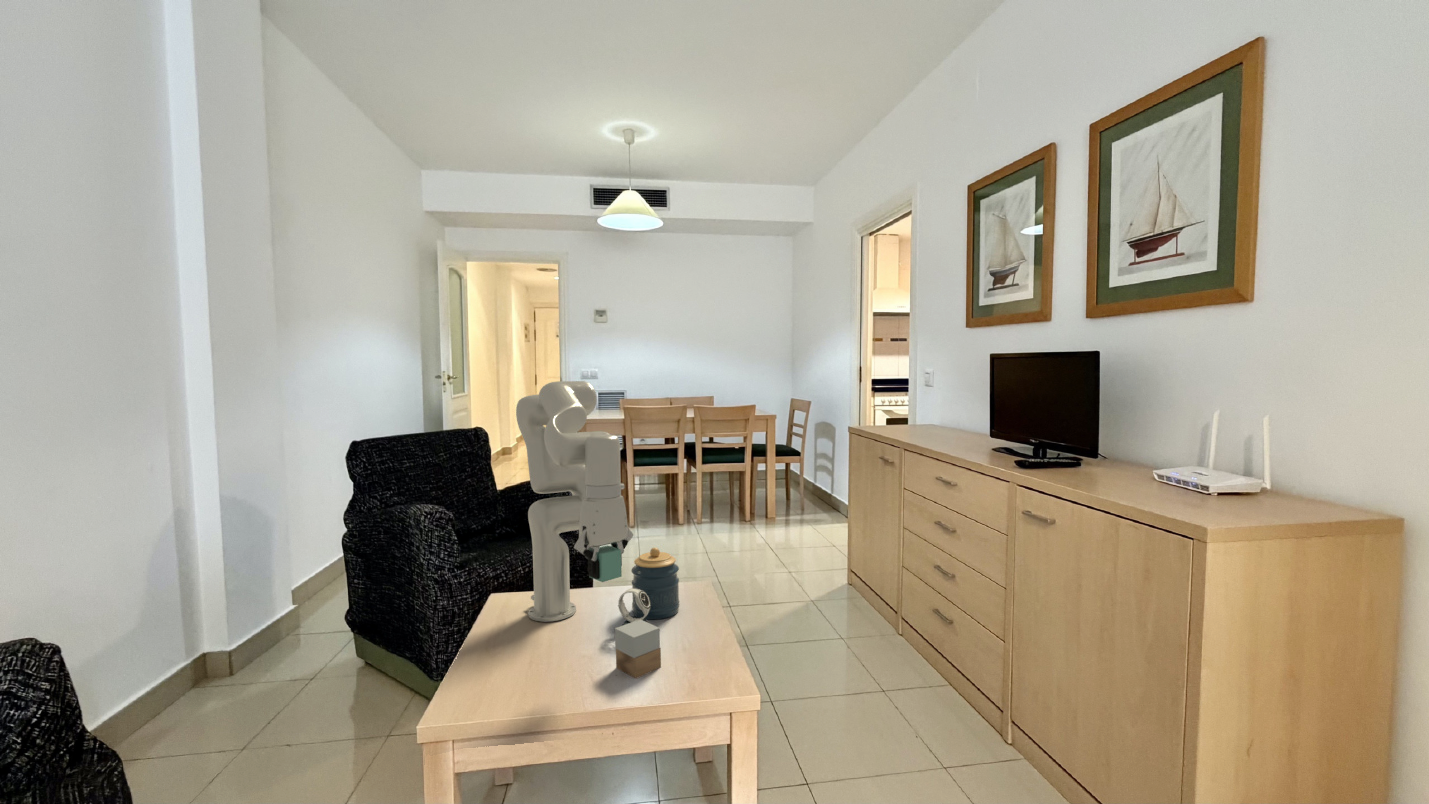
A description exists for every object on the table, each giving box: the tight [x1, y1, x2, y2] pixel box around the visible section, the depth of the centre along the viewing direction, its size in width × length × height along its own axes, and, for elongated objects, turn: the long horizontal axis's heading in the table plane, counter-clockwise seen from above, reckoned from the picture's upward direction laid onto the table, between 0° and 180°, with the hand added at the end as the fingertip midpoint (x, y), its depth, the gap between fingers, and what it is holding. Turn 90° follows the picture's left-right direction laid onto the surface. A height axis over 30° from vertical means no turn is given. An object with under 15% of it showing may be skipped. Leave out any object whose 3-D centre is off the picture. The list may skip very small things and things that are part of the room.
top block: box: [614, 619, 661, 658], centre depth 136 cm, size 7×7×4 cm
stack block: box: [588, 544, 623, 583], centre depth 134 cm, size 5×5×6 cm
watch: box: [617, 587, 651, 626], centre depth 154 cm, size 6×8×11 cm
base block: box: [615, 647, 662, 679], centre depth 136 cm, size 7×7×4 cm
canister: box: [630, 547, 680, 620], centre depth 168 cm, size 13×13×18 cm
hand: (605, 573), depth 134 cm, fingers closed on stack block, 5 cm apart
